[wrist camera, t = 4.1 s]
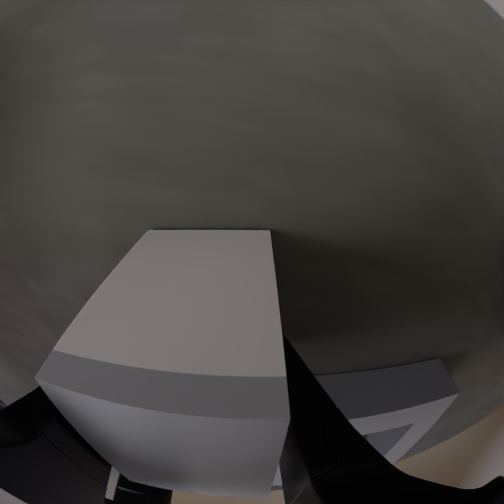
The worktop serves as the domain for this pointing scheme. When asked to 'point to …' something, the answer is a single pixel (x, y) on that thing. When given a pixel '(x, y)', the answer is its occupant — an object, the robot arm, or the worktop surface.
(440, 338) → the worktop surface
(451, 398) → the socket block
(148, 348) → the plug
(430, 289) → the worktop surface
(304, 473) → the robot arm
